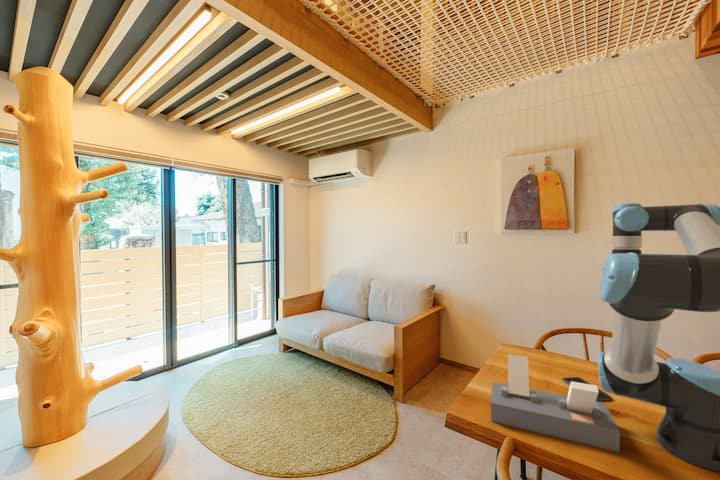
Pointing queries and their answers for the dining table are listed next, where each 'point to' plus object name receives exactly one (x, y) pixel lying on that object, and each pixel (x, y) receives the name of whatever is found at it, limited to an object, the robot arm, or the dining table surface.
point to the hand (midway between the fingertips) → (625, 316)
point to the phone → (601, 394)
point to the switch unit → (554, 417)
